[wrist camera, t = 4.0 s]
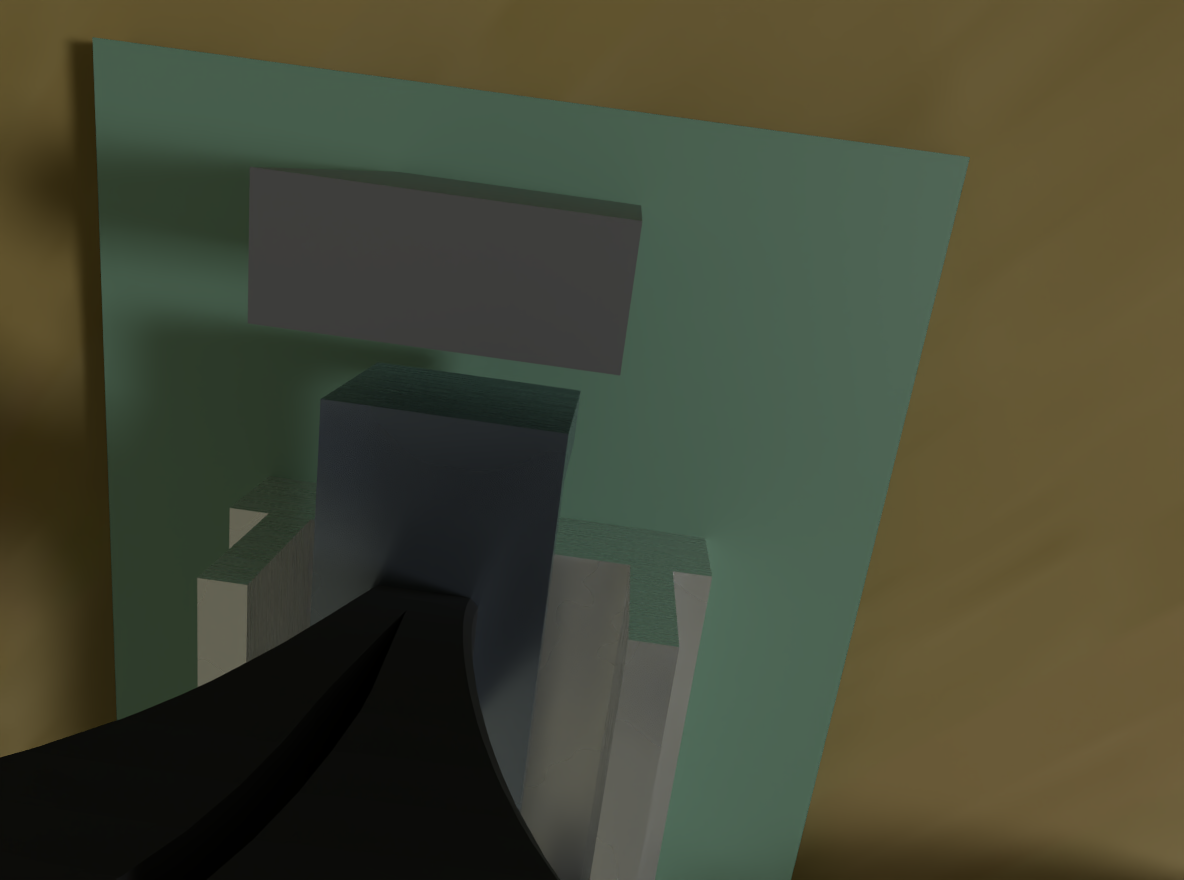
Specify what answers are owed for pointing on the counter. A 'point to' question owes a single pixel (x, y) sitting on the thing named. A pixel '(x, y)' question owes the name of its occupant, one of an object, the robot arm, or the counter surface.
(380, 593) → the robot arm
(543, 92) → the counter surface
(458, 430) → the metal bar
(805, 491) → the motherboard
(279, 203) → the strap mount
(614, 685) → the heat sink
